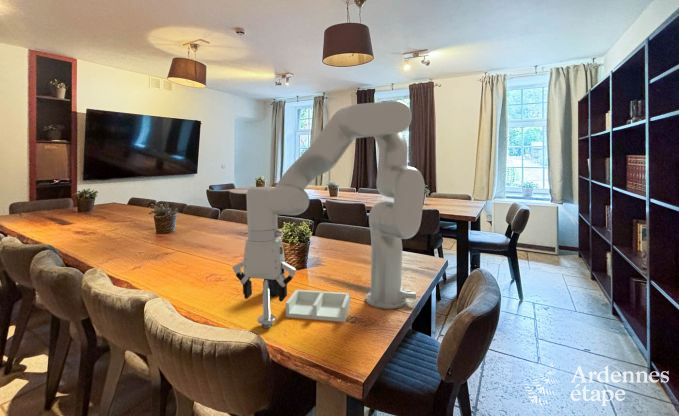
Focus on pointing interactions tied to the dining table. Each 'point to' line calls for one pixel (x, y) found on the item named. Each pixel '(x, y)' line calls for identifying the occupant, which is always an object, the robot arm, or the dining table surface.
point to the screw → (266, 308)
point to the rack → (318, 305)
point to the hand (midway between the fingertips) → (265, 298)
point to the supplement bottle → (273, 287)
